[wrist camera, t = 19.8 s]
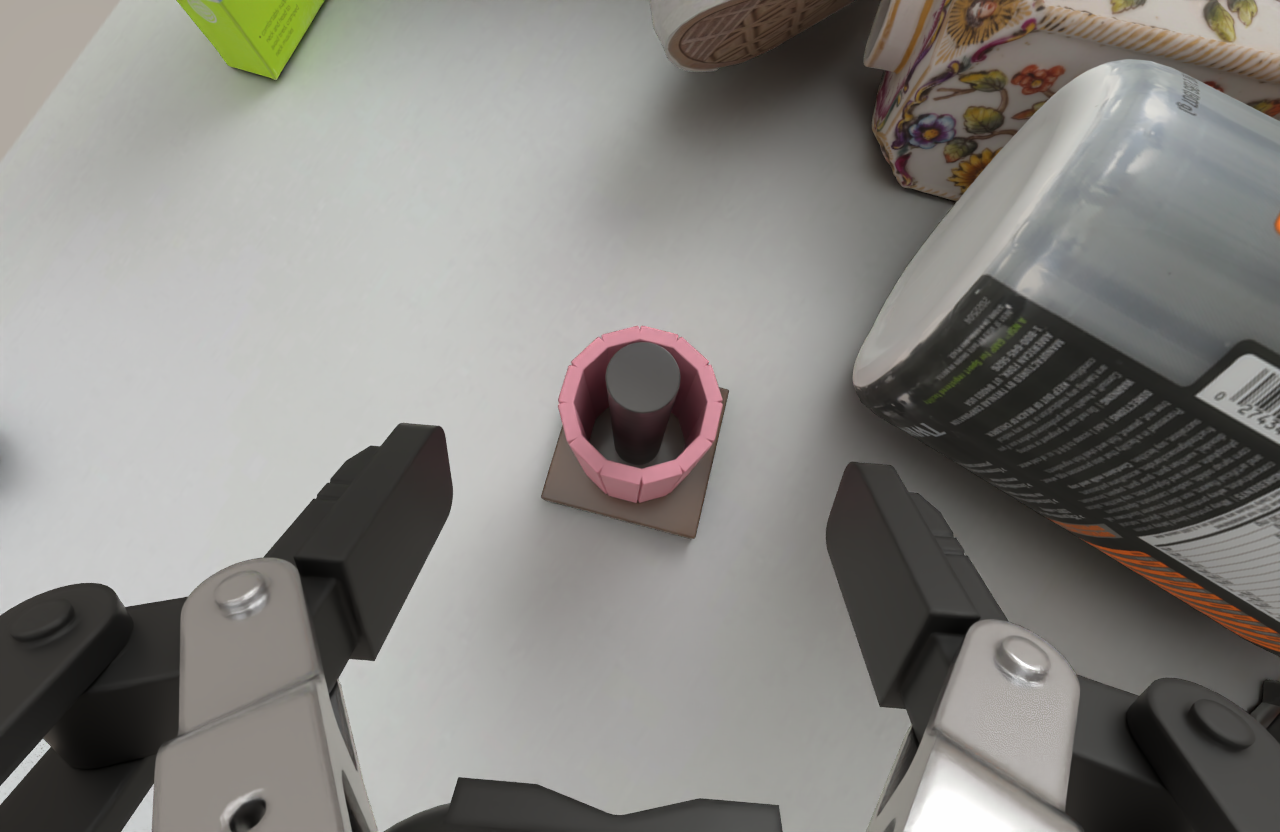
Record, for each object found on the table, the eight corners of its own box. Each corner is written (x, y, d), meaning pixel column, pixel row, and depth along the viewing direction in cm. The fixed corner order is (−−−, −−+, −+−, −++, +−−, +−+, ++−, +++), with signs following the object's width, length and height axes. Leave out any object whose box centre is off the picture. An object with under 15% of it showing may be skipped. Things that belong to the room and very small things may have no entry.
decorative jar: (1375, 88, 21) (919, -12, 22) (1116, 247, 33) (822, 177, 33) (1360, -128, 24) (956, -209, 25) (1127, 88, 35) (854, 28, 36)
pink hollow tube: (596, 374, 29) (585, 310, 21) (706, 402, 29) (736, 348, 21) (564, 484, 27) (539, 459, 20) (680, 514, 27) (701, 501, 19)
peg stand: (585, 360, 30) (558, 238, 18) (725, 395, 30) (789, 295, 18) (543, 499, 28) (482, 465, 16) (692, 539, 28) (739, 533, 16)
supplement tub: (1059, 52, 25) (1640, 344, 22) (852, 325, 35) (1241, 554, 32) (1207, 9, 12) (2577, 665, 10) (818, 457, 22) (1456, 853, 19)
